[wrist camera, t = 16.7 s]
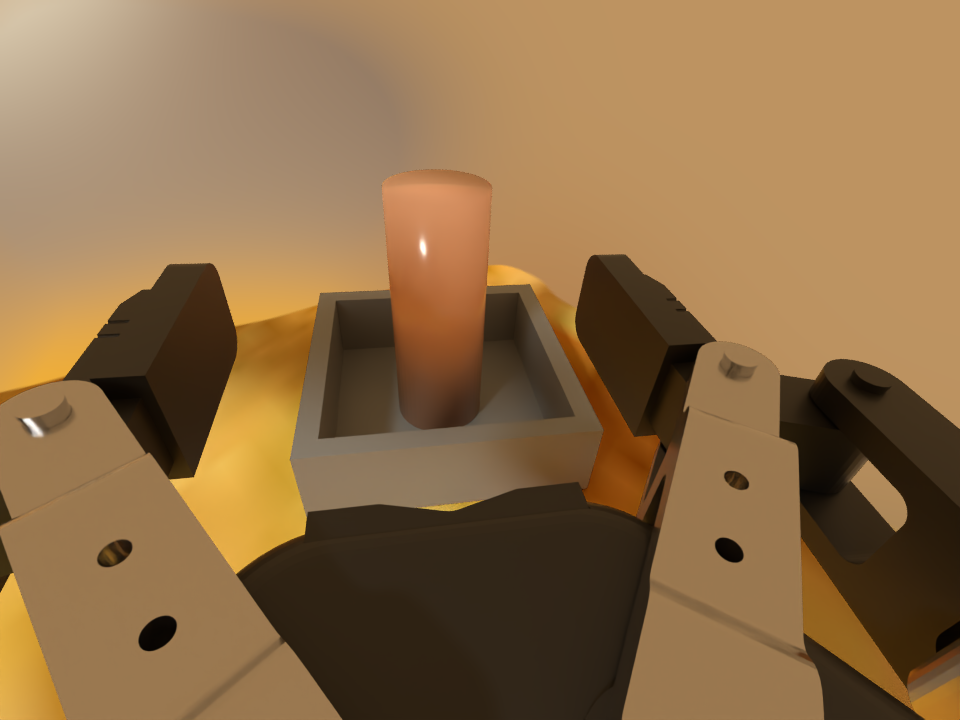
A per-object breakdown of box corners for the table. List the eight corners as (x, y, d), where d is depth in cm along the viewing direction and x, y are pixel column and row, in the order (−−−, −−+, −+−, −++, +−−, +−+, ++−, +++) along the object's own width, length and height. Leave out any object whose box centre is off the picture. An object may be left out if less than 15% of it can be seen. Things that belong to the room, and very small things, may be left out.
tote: (307, 519, 27) (290, 459, 23) (329, 347, 39) (320, 293, 36) (586, 488, 29) (603, 430, 26) (523, 335, 42) (530, 284, 39)
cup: (400, 435, 31) (382, 205, 22) (398, 380, 35) (381, 169, 26) (486, 428, 32) (502, 203, 23) (473, 375, 36) (482, 169, 27)
